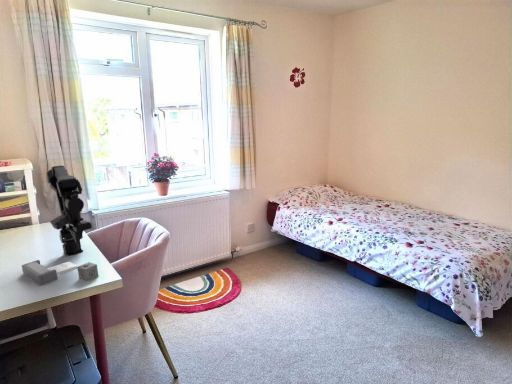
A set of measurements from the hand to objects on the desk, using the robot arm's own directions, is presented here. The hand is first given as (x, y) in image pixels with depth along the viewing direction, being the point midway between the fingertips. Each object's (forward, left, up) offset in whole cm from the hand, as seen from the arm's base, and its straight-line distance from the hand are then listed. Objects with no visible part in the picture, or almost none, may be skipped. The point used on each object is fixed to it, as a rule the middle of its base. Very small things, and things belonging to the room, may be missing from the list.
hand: (77, 242), depth 147 cm
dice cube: (+5, +17, -10) cm, 20 cm away
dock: (+16, 0, -9) cm, 19 cm away
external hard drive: (+10, 0, -10) cm, 14 cm away
